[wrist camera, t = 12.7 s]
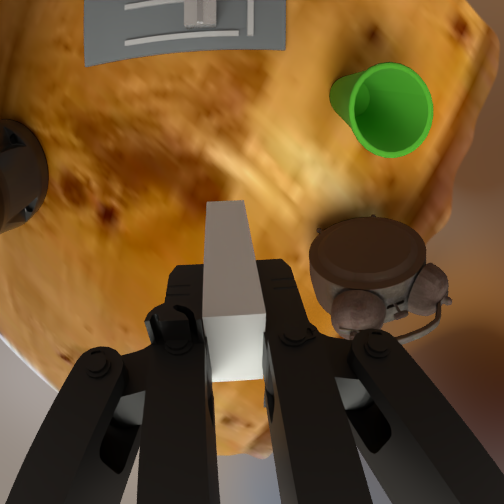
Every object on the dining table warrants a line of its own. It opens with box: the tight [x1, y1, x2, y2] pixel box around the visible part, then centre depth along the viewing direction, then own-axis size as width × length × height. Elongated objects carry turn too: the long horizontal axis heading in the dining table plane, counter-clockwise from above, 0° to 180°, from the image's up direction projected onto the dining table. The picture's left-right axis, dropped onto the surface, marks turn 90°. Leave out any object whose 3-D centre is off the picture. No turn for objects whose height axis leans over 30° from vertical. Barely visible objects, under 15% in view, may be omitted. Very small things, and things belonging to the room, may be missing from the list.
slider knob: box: [184, 0, 216, 30], centre depth 24 cm, size 3×3×4 cm
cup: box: [330, 62, 433, 158], centre depth 28 cm, size 9×9×11 cm
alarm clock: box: [309, 214, 452, 345], centre depth 35 cm, size 15×7×20 cm, turn 104°
